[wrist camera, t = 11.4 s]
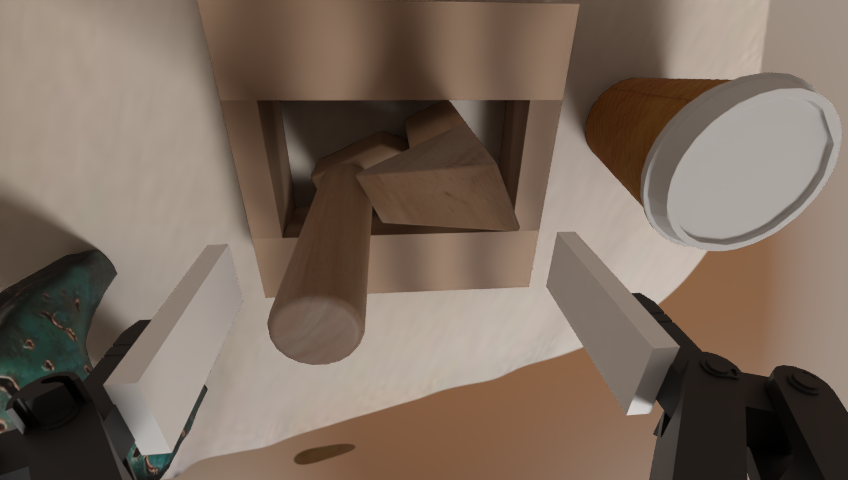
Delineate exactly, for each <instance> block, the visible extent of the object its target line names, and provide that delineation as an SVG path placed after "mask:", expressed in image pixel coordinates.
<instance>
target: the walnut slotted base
mask: <svg viewBox="0 0 848 480" xmlns="http://www.w3.org/2000/svg"><path fill="white" fill-rule="evenodd" d="M197 3H198V7H199V12H200V16H201V20H202V25H203V29H204V33H205V37H206V42H207V46H208V50H209V55H210V59H211V63H212V68H213V72H214V76H215V81H216V85H217V89H218V94H219V98H220V102H221V107H222V111H223V115H224V120H225V124H226V128H227V133H228V137H229V141H230V146H231V150H232V154H233V159H234V163H235V167H236V172H237V176H238V180H239V185H240V189H241V193H242V198H243V202H244V206H245V211H246V215H247V219H248V224H249V228H250V232H251V237H252V241H253V245H254V250H255V254H256V258H257V263H258V267H259V271H260V276H261V280H262V284H263V289H264V293H265V297H266V298H272V297H276V295H277V293H278V290H279V288H280V285H281V282H282V280H283V277H284V274H285V272H286V269H287V267H288V264H289V261H290V259H291V256H292V254H293V251H294V248H295V246H296V243H297V241H298V238H299V235H300V233H301V230H302V228H303V225H304V222H305V220H306V217H307V215H308V212H309V209H310V207H296V201H295V195H294V189H293V182H292V176H291V170H290V164H289V157H288V151H287V145H286V139H285V132H284V126H283V120H282V114H281V107H280V101H279V100H506V109H505V118H504V126H503V135H502V144H501V153H500V162H499V171H500V173H501V176H502V179H503V182H504V184H505V187H506V190H507V193H508V195H509V198H510V201H511V204H512V206H513V209H514V212H515V215H516V217H517V220H518V223H519V226H520V229H519V231H503V230H488V229H472V228H457V227H441V226H426V225H410V224H395V223H383V222H382V221H381V219H380V218H379V216H378V214H377V212H376V211H375V209H374V207H373V205H372V221H371V237H370V253H369V269H368V285H367V294H369V293H394V292H418V291H442V290H467V289H491V288H515V287H529V283H530V278H531V272H532V267H533V261H534V256H535V250H536V245H537V239H538V233H539V228H540V222H541V217H542V211H543V206H544V200H545V195H546V189H547V183H548V178H549V172H550V167H551V161H552V156H553V150H554V145H555V139H556V133H557V128H558V122H559V117H560V111H561V106H562V100H563V94H564V89H565V83H566V78H567V72H568V67H569V61H570V56H571V50H572V44H573V39H574V33H575V28H576V22H577V17H578V11H579V6H580V4H555V3H503V2H452V1H400V0H197Z"/></svg>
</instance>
